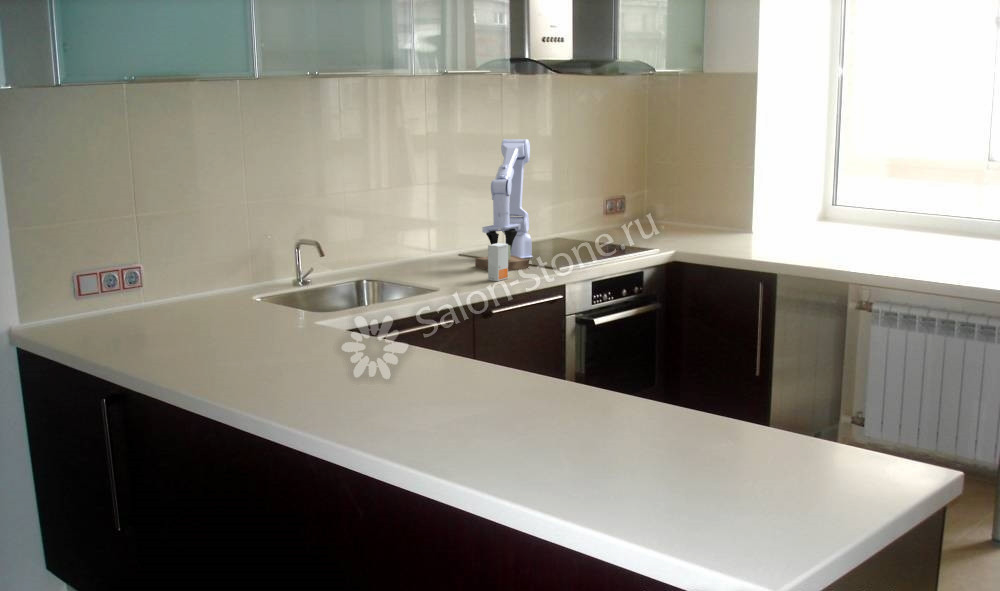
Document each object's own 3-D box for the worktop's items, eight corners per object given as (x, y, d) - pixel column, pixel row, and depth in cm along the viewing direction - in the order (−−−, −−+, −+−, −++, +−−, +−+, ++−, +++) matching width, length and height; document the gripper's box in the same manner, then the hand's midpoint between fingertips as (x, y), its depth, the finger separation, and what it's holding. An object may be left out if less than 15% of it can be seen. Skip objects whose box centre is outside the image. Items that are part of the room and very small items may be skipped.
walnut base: (508, 262, 366) (508, 254, 365) (528, 268, 354) (528, 260, 353) (475, 266, 359) (475, 258, 358) (494, 272, 347) (494, 264, 346)
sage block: (504, 257, 359) (503, 243, 358) (510, 259, 355) (510, 245, 354) (493, 258, 356) (493, 244, 355) (499, 260, 353) (499, 246, 352)
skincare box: (497, 281, 332) (497, 246, 329) (487, 280, 334) (487, 245, 331) (508, 278, 336) (508, 243, 334) (498, 277, 339) (498, 242, 336)
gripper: (489, 216, 345) (489, 254, 348) (524, 212, 352) (525, 250, 355) (479, 213, 351) (479, 251, 354) (514, 210, 358) (514, 247, 361)
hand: (501, 251), depth 355 cm, fingers open, 5 cm apart
